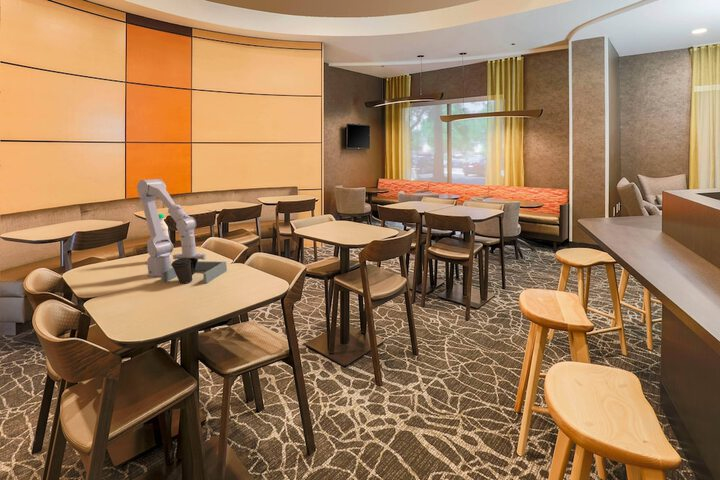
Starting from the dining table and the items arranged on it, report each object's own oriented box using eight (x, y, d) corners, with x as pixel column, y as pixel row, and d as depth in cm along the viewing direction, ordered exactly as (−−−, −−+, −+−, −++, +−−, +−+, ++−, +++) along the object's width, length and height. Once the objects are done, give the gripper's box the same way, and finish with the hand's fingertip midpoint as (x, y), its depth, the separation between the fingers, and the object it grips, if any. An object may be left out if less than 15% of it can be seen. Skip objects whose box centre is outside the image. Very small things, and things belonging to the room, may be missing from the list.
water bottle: (160, 259, 218) (154, 213, 213) (173, 258, 219) (168, 212, 213) (154, 262, 211) (149, 215, 206) (168, 262, 212) (163, 214, 207)
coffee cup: (199, 277, 178) (194, 257, 174) (185, 287, 172) (180, 266, 167) (186, 274, 181) (181, 254, 177) (171, 283, 175) (166, 263, 171)
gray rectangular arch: (162, 282, 176) (161, 272, 176) (186, 269, 196) (185, 261, 195) (206, 283, 174) (205, 273, 173) (226, 270, 194) (226, 261, 193)
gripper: (208, 243, 181) (211, 272, 184) (177, 243, 183) (180, 271, 186) (200, 246, 175) (203, 276, 177) (168, 246, 176) (172, 276, 179)
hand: (191, 274), depth 181 cm, fingers closed, pressing on coffee cup
